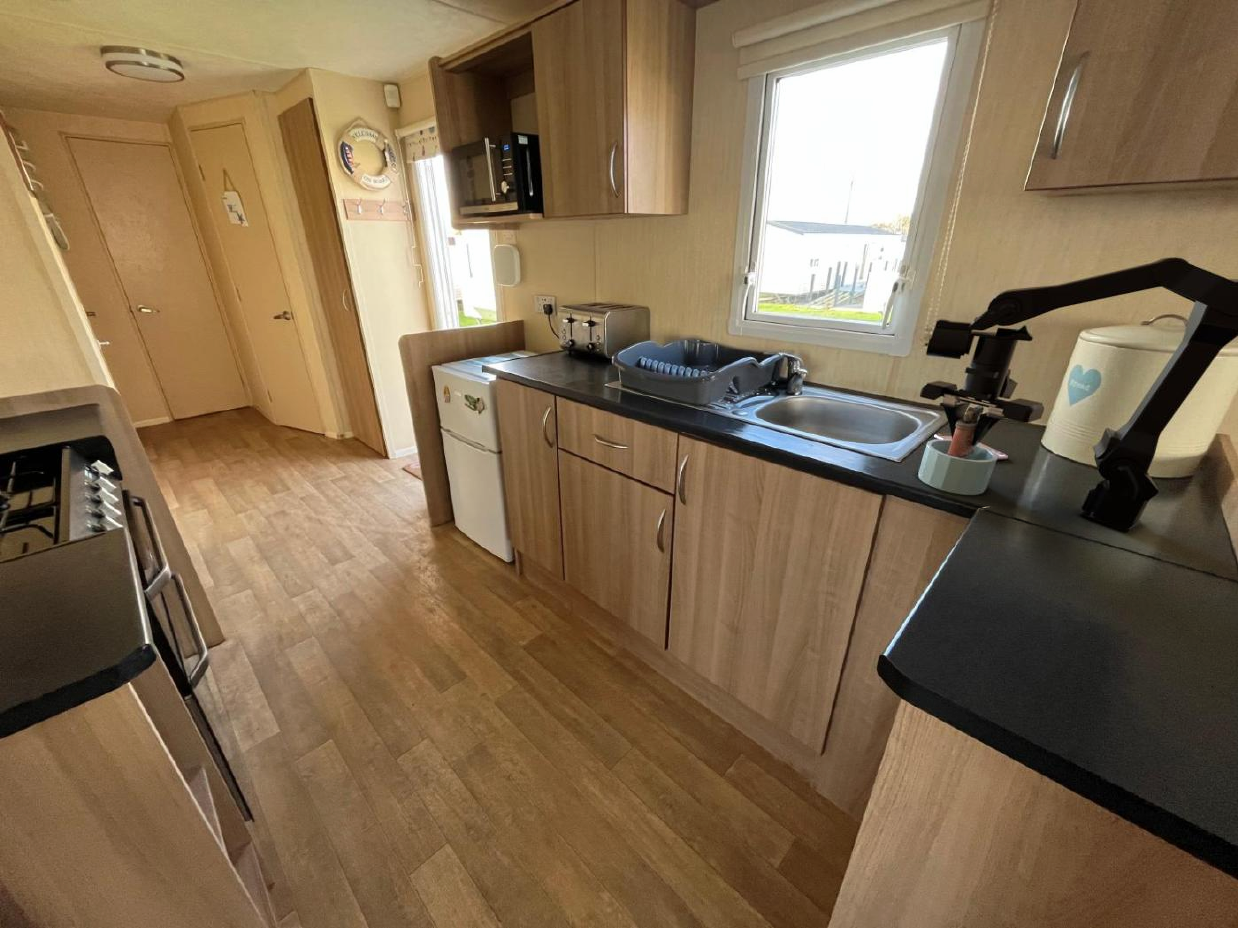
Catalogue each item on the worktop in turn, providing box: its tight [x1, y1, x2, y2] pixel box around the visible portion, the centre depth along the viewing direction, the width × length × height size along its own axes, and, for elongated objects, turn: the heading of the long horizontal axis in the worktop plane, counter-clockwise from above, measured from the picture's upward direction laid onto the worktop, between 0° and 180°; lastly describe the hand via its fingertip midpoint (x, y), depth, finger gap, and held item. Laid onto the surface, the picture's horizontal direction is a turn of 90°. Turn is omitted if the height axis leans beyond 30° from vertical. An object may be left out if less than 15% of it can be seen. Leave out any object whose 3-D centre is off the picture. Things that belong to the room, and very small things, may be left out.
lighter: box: [947, 405, 985, 459], centre depth 94 cm, size 8×3×10 cm, turn 126°
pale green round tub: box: [917, 438, 998, 496], centre depth 97 cm, size 12×12×7 cm
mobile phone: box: [933, 433, 1009, 461], centre depth 115 cm, size 8×1×15 cm
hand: (964, 442), depth 95 cm, fingers closed on lighter, 3 cm apart
